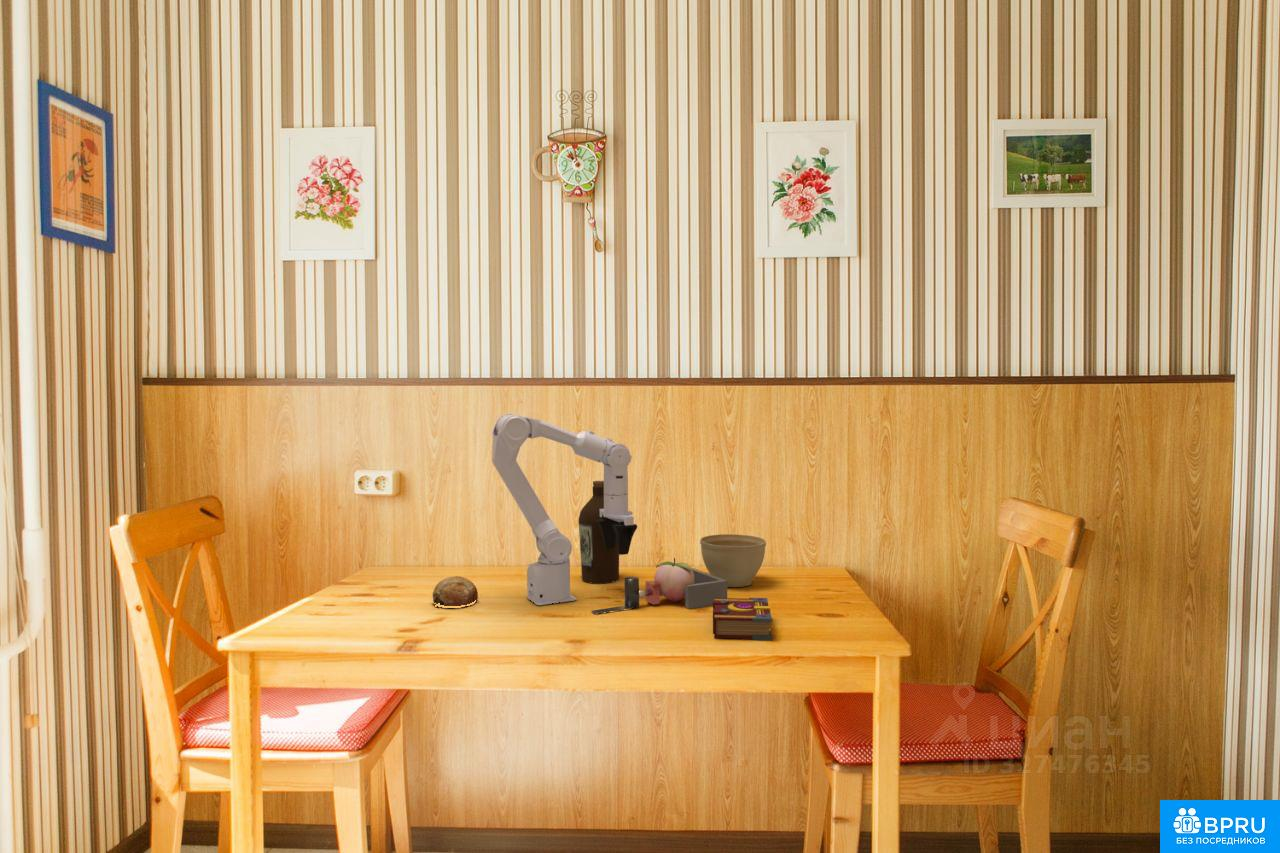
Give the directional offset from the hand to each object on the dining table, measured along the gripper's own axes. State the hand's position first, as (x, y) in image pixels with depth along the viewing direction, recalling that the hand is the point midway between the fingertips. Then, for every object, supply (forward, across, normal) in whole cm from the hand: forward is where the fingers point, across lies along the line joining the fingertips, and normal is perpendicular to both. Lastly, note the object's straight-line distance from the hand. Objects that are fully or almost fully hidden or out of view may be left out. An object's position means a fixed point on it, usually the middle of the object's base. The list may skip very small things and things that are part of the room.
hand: (616, 551), depth 183 cm
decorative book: (+10, -36, -10) cm, 39 cm away
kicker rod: (+9, -13, 0) cm, 16 cm away
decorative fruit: (+10, -13, -8) cm, 19 cm away
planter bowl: (+10, -6, -29) cm, 31 cm away
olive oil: (+10, +14, -2) cm, 17 cm away
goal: (+10, -13, -12) cm, 20 cm away
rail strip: (+10, -13, +8) cm, 18 cm away
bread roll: (+10, +10, +36) cm, 38 cm away
